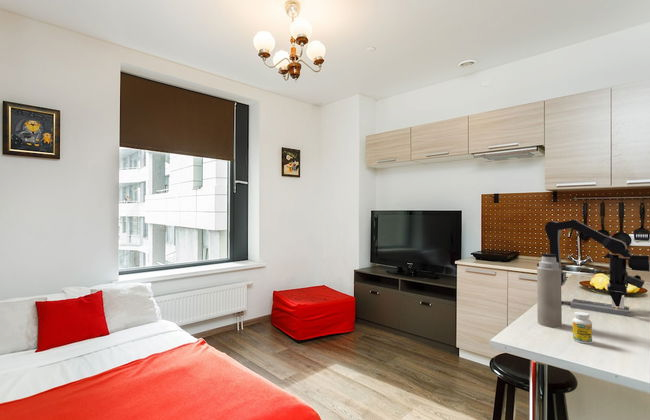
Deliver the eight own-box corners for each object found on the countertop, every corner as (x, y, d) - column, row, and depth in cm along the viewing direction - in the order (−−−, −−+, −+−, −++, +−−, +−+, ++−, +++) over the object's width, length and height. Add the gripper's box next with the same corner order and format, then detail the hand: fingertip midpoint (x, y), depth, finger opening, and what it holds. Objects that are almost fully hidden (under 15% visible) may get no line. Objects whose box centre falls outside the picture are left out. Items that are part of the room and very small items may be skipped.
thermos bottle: (539, 319, 139) (539, 252, 139) (563, 323, 133) (562, 253, 133) (535, 324, 133) (534, 254, 133) (559, 329, 127) (559, 255, 128)
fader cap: (611, 306, 148) (611, 295, 148) (612, 305, 150) (612, 293, 150) (624, 308, 145) (623, 296, 145) (624, 306, 148) (624, 294, 148)
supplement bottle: (588, 339, 117) (588, 312, 117) (594, 345, 112) (594, 316, 112) (570, 337, 119) (570, 310, 119) (575, 342, 114) (575, 314, 114)
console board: (570, 307, 155) (570, 302, 155) (573, 303, 163) (573, 298, 163) (628, 316, 142) (628, 311, 142) (629, 311, 149) (629, 306, 149)
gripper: (642, 274, 135) (643, 312, 135) (643, 268, 149) (643, 303, 149) (607, 270, 143) (607, 307, 143) (610, 265, 156) (610, 298, 156)
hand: (618, 304), depth 148 cm, fingers open, 9 cm apart
